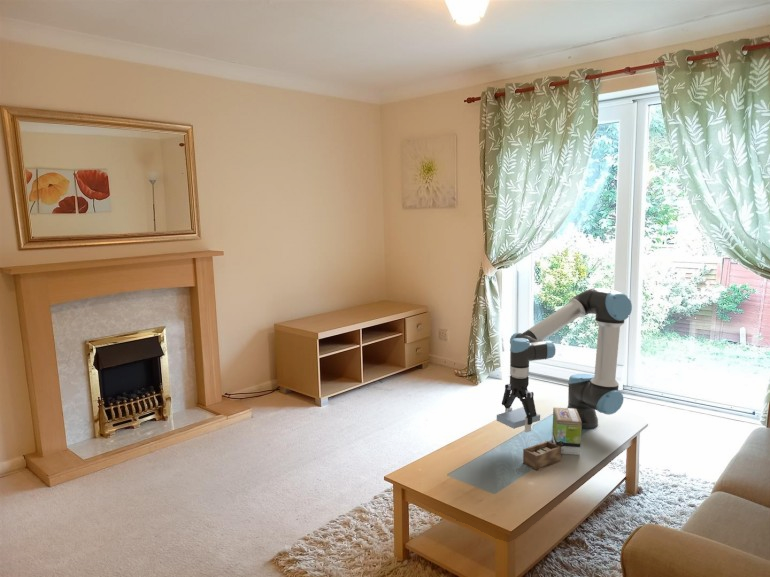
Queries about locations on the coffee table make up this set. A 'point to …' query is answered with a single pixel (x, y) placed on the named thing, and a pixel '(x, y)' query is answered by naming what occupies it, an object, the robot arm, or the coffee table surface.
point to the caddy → (541, 455)
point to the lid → (515, 418)
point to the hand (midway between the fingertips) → (518, 426)
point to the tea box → (567, 430)
